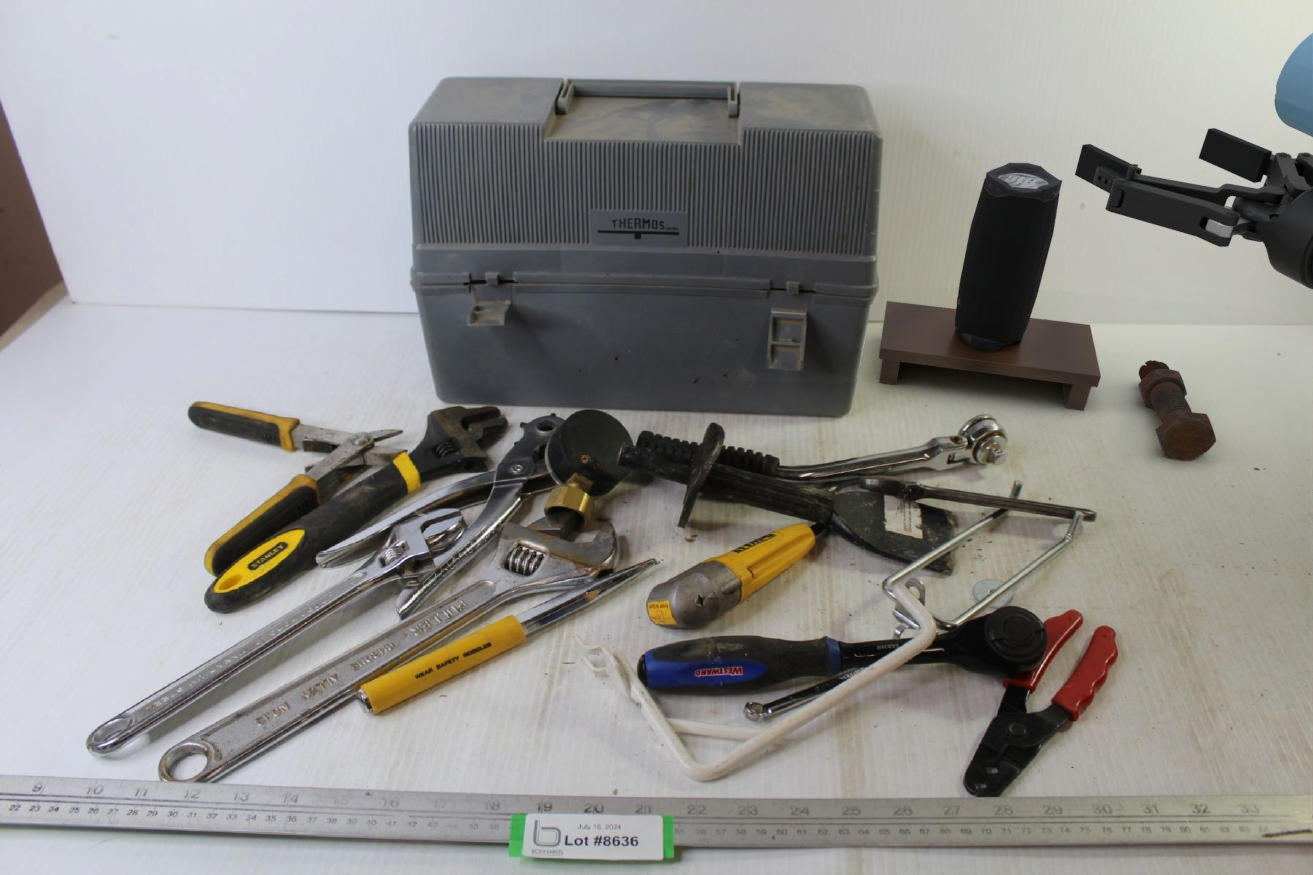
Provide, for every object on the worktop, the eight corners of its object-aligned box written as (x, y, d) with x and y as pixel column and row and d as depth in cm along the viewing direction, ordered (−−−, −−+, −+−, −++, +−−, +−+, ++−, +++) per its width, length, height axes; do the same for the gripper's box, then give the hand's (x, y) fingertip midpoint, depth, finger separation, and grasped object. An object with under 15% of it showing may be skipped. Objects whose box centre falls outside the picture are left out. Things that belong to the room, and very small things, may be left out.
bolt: (1150, 397, 115) (1184, 470, 103) (1117, 376, 115) (1147, 446, 102) (1189, 363, 112) (1229, 433, 100) (1155, 340, 111) (1191, 408, 99)
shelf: (1079, 360, 119) (1090, 324, 116) (1089, 413, 110) (1101, 376, 107) (881, 335, 124) (886, 300, 121) (874, 384, 115) (880, 347, 112)
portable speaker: (945, 348, 112) (978, 184, 100) (955, 312, 119) (986, 155, 107) (1023, 361, 109) (1065, 195, 98) (1028, 323, 116) (1067, 164, 105)
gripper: (1196, 318, 69) (1017, 208, 86) (1452, 269, 76) (1241, 176, 92) (1232, 219, 65) (1037, 123, 81) (1501, 177, 72) (1270, 95, 88)
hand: (1145, 151), depth 87 cm, fingers open, 13 cm apart
